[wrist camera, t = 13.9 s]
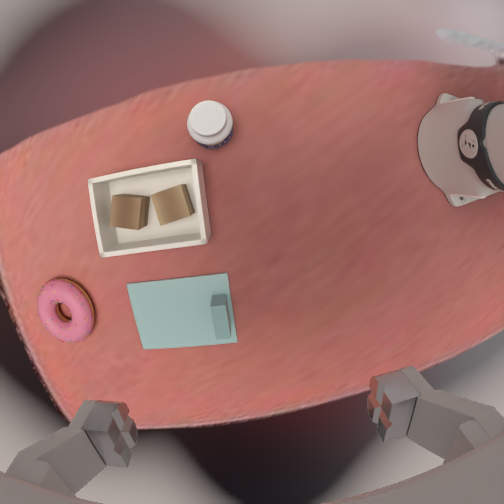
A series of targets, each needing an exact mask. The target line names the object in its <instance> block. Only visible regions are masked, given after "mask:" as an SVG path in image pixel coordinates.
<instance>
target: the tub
mask: <svg viewBox="0 0 504 504" xmlns="http://www.w3.org/2000/svg"><path fill="white" fill-rule="evenodd" d="M180 184H186V185H187V188H188V191H189V194H190V198H191V201H192V204H193V207H194V210H195V213H194V214H192V215H191V216H189V217H186V218H183V219H180V220H177V221H174V222H171V223H168V224H165V225H162V226H160V223H159V220H158V217H157V214H156V211H155V208H154V205H153V202H152V199H151V195H152V194H155V193H157V192H160V191H163V190H166V189H169V188H171V187H174V186H177V185H180ZM88 186H89V193H90V201H91V207H92V214H93V220H94V226H95V232H96V237H97V242H98V248H99V253H100V257H101V258H102V257H110V256H117V255H125V254H132V253H140V252H147V251H155V250H163V249H171V248H179V247H187V246H195V245H203V244H207V243H208V241H209V239H210V237H211V228H210V221H209V213H208V206H207V198H206V190H205V182H204V174H203V166H202V161H200V160H198V159H190V160H183V161H177V162H171V163H165V164H160V165H154V166H149V167H144V168H138V169H133V170H128V171H124V172H119V173H114V174H110V175H105V176H101V177H96V178H92V179H88ZM117 194H133V195H142V196H150V202H149V212H148V223H147V226H145V227H143V228H142V229H140V230H133V229H125V228H118V227H110V218H111V205H112V195H117Z"/></svg>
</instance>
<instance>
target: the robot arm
mask: <svg viewBox="0 0 504 504" xmlns="http://www.w3.org/2000/svg"><path fill="white" fill-rule="evenodd" d="M418 150H419V156H420V159H421V163H422V165H423V168H424V170H425V172H426V174H427V175H428V177H429V178H430V180H431V181H432V182H433V183H434V184H435V185H436V186H437V187H438V188H440V189H441V190H442V191H443V192H444V193H445V195H446V197H447V199H448V201H449V203H450V204H451V205H452V206H454V207H459V206H462V205H464V204H467V203H470V202H472V201H475V200H478V199H484V198H485V197H486V196H489V195H491V194H494V193H497V192H499V191H501V192H504V102H502V101H498V102H495V101H492V102H487V103H484V102H483V100H481V99H475V97H466V98H461V99H460V98H457V97H455V96H452V95H450V94H448V93H443V94H440V95H439V97H438V99H437V102H436V105H435V106H434V107H433V108H432V109H431V110H430V111H429V112H428V113H427V114H426V115H425V116H424V118H423V120H422V122H421V124H420V128H419V133H418ZM460 197H461V199H460ZM369 387H370V389H371V390H372V392H371V393H370V395H369V396H368V402H367V406H368V412H369V416H370V418H371V420H372V421H373V422H375V423H377V424H378V426H377V432H378V434H379V435H380V437H381V439H382V441H383V443H386V442H389V441H393V440H396V439H400V438H403V437H406V436H407V438H408V439H410V440H412V441H413V442H415V443H417V444H418V445H420V446H422V447H424V448H425V449H427V450H429V451H431V452H432V453H434V454H436V455H438V456H440V457H441V458H443V459H445V460H444V463H443V465H441V466H438V467H436V468H434V469H432V470H429V471H427V472H424V473H422V474H420V475H417V476H414V477H412V478H409V479H406V480H404V481H401V482H398V483H395V484H392V485H389V486H386V487H383V488H380V489H377V490H374V491H370V492H367V493H363V494H360V495H356V496H352V497H348V498H345V499H340V500H336V501H331V502H327V503H322V504H504V417H503V416H501V414H500V413H499V412H498V411H497V410H496V409H495V408H494V407H492V406H489V405H485V404H482V403H479V402H475V401H472V400H469V399H466V398H462V397H459V396H456V395H453V394H450V393H447V392H444V391H441V390H436V391H435V390H434V389H433V388H432V387H431V386H430V385H429V383H428V382H427V381H426V380H425V379H424V378H423V377H422V375H421V374H420V373H419V372H418V371H417V370H416V368H415V367H414V366H408V367H405V368H402V369H398V370H396V371H392V372H389V373H385V374H381V375H377V376H373V377H371V379H370V384H369ZM128 413H129V409H128V407H127V405H126V403H124V402H114V401H102V400H89V399H87V400H85V401H84V402H83V403H82V405H81V406H80V408H79V410H78V411H77V413H76V415H75V416H74V418H73V420H72V421H71V423H70V425H69V426H68V427H63V428H62V429H60V430H58V431H56V432H55V433H53V434H51V435H50V436H47V437H46V438H44V439H42V440H40V441H38V442H37V443H35V444H33V445H31V446H29V447H28V448H26V449H24V450H22V451H20V452H18V454H17V455H16V457H15V458H14V460H13V462H12V463H11V465H10V466H9V468H8V469H7V471H6V473H3V472H1V471H0V504H101V503H97V502H92V501H88V500H83V499H80V498H77V497H76V496H75V494H76V493H77V492H78V491H79V490H80V489H81V488H83V487H84V486H85V485H86V484H87V483H88V482H89V481H90V480H92V479H93V478H94V477H95V476H96V475H97V474H98V473H99V472H101V471H102V470H103V469H104V468H105V467H106V465H108V466H117V467H118V466H119V467H128V465H129V462H130V459H131V456H132V453H131V451H130V448H132V447H133V446H134V445H135V444H136V441H137V428H136V424H135V422H134V420H133V419H131V418H130V417H129V416H128Z"/></svg>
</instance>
